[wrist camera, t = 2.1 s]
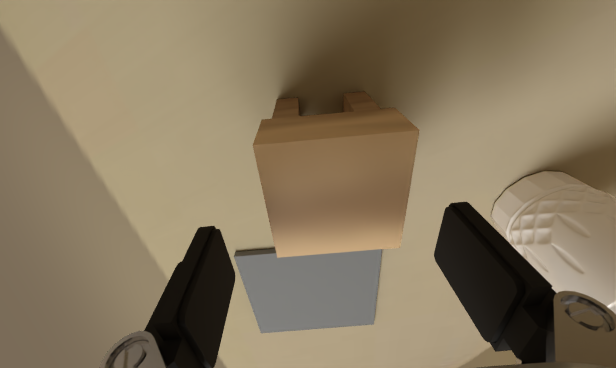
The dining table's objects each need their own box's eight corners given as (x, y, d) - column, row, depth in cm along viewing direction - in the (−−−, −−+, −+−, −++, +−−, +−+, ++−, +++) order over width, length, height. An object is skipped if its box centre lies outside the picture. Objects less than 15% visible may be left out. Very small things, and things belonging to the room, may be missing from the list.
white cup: (469, 234, 24) (559, 347, 16) (509, 161, 20) (660, 263, 12) (547, 235, 25) (674, 346, 16) (602, 164, 21) (811, 265, 12)
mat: (235, 251, 24) (234, 256, 24) (380, 239, 24) (382, 244, 24) (261, 328, 32) (261, 333, 32) (372, 319, 32) (373, 324, 31)
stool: (270, 94, 17) (252, 145, 10) (370, 85, 17) (419, 129, 10) (284, 178, 20) (277, 257, 13) (365, 171, 20) (400, 247, 13)
